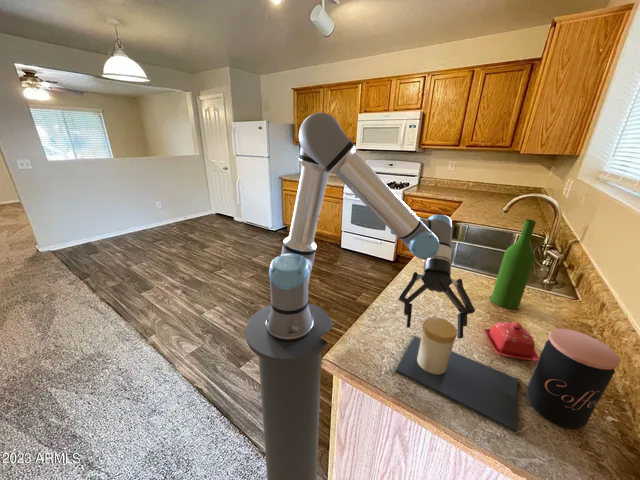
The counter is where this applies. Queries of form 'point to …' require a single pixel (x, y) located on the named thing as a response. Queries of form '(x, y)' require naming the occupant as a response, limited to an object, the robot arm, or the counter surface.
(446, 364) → the cream-colored jar
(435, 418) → the counter surface
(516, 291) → the wine bottle
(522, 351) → the butter dish
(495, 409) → the mat
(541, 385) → the coffee jar
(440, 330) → the lid
